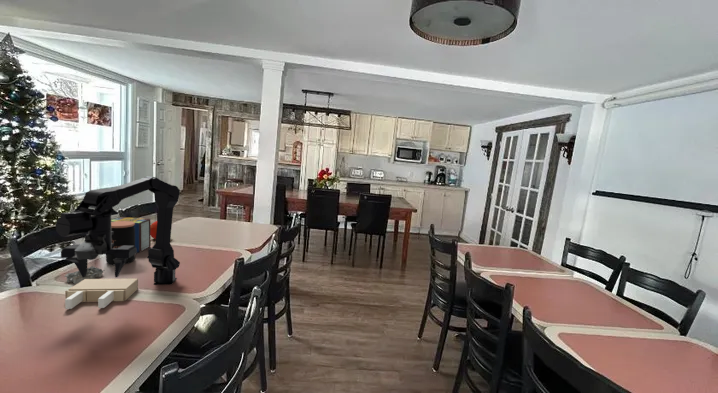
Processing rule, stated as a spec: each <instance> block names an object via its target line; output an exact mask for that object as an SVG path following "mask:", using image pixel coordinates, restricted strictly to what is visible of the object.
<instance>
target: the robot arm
mask: <svg viewBox="0 0 718 393" xmlns="http://www.w3.org/2000/svg"><path fill="white" fill-rule="evenodd" d="M145 191H149V192H151V193H152V194H153V195H154V201H155V204H156V205H157V206H158V207H157V208H158V210H157V220H156V221H157V230H156V239H155V242H154V244H153V246H151V247H149V248H147V258H146V259H148V263H149V264H150V266H151V267H152V269H153V268H155V271H154V272H153V282H154V283H153V285H154V286H163V285H164V286H168V285H170V286H172V285H173V284H174V283H175V282H176V281H177V279H178V278H177V277H176V270H177V269H178V268H179V267H180V264H181V262H180V261H179V260H178V259H177V258H175V253H174V252H175V251H174V248H173V246H172V244H171V238H172V237H171V235H172V226H173V224H172V223H173V214H174V207H175V206H176V205H177V203H178V202H179V199H180V195H181V194H180V193H181V191H180V188H179V187H178V186H177V185H174V184H171V183H167V182H166V181H163V180H161V179H159V178H158V177H156V176H147V175H146V176H144V177H142V178H138V179H136V180H133V181H130V182H127V183H124V184H121V185H118V186H115V187H109V188H99V189H98V188H97V189H91V190H88V191H87V192H85V195H84V196H83V199H82V200H81V201H80V202H79V204H78V205H77V207H76V208H75V209H74V211H73V212H62V213H60V217H58V219H57V220H56V223H55V231H56V233H57V234H58V235H59V236H61V237H62V238H63V237H70V236H76V235H80V234H82V235H83V234H85V237H84V241H83V242H81V243H79V244H77V243H74V244H70V245H68V246H66V247H63V248H62V249H61V251H60V258H62V259H63V258H65V259H66V260H65V261H70V262H71V263H73V264H74V265H75V267H76V268H77V271H79V272H80V273H81V275H82V277H86V274H87V268H88V262H89V261H93V260H95V259H97V257H98V256H101V255H106V254H114V256H115V257H116V258H115V259H113V260H114V262H115V265H114V277H115V279H118V277H119V275H120V274H121V272H122V270H123V267H124V265H126V264H125V262H126V260H127V259H128V258H130V257H132V256H133V255H135V256H136V254H138V252H137V248H136V247H135V246H128V245H123V246H121V247H119V248H112V247H113V246H114V243H112V238H111V235H113V234H114V231H111V220H112V216H116V215H118V214H119V212H118V211H116V210H115V209H114V208H115V207H116V206H118V205H119V204H121V201H123V200H124V199H127V198H130V197H133V196H135V195H138V194H140V193H144V192H145Z"/></svg>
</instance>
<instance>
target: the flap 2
mask: <svg viewBox="0 0 718 393" xmlns="http://www.w3.org/2000/svg"><path fill="white" fill-rule="evenodd" d="M126 301H127V299H126V290H107V291H106V293H105V294H104V295H102V296H101V297H100V298H98V302H97V308H98V309H104V308H106V307H107V306H108V305H110V304H111V302H126Z"/></svg>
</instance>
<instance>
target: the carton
mask: <svg viewBox="0 0 718 393" xmlns="http://www.w3.org/2000/svg"><path fill="white" fill-rule="evenodd" d="M82 290H87V291H86V293H87V301H86V302H87V303H92V302H94V303H95V302H97V303H98V298H100V297H101V296H102V295H104V294H105V293H106V291H107V290H126V300H127V299H128V298H130V297H131V295H133V294H134V293H135V292H136V291H137V290H139V278H93V279H84V280H83V281H81V282H79V283H77V284H74V285H73V286H71V287H70V288H68V290H67V291H82Z"/></svg>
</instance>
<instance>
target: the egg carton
mask: <svg viewBox="0 0 718 393" xmlns="http://www.w3.org/2000/svg"><path fill="white" fill-rule="evenodd" d="M104 272H105V269H104V270H102V268H99V267H95V266H93V265H91V266H89V267H87V274H86V277H82V275H81V273H80V272H79V270H77V271H74V272H68V273H66V274H65V275H64V278H66V283H73V284H74V285H76V284H78V283H79V282H81V281H83V280H84V279H96V278H102V276H103V275H104V274H103V273H104Z"/></svg>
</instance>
